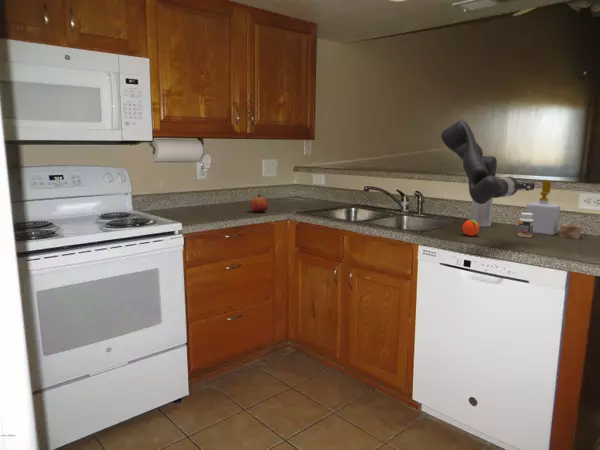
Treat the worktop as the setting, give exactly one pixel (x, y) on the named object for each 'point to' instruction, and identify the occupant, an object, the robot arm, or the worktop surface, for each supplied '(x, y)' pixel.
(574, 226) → the walnut block
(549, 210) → the soap bottle
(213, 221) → the worktop surface
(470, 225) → the clementine
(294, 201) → the worktop surface
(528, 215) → the pill bottle
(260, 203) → the fruit
